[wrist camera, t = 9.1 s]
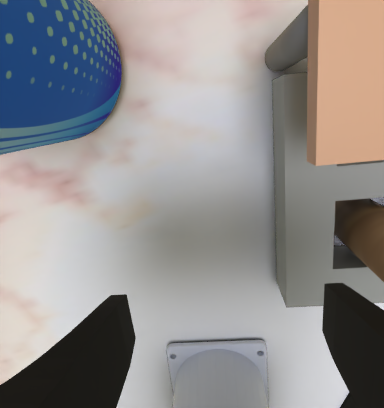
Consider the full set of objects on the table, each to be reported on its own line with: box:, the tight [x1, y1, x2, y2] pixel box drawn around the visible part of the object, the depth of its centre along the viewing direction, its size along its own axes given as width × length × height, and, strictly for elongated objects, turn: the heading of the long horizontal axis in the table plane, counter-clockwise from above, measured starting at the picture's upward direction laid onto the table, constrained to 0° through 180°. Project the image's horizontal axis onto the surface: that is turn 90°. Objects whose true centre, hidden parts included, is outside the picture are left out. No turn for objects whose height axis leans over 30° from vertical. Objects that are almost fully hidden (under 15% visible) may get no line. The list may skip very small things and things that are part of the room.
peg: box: [334, 198, 384, 282], centre depth 17 cm, size 3×3×7 cm
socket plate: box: [272, 72, 384, 307], centre depth 18 cm, size 14×10×3 cm
